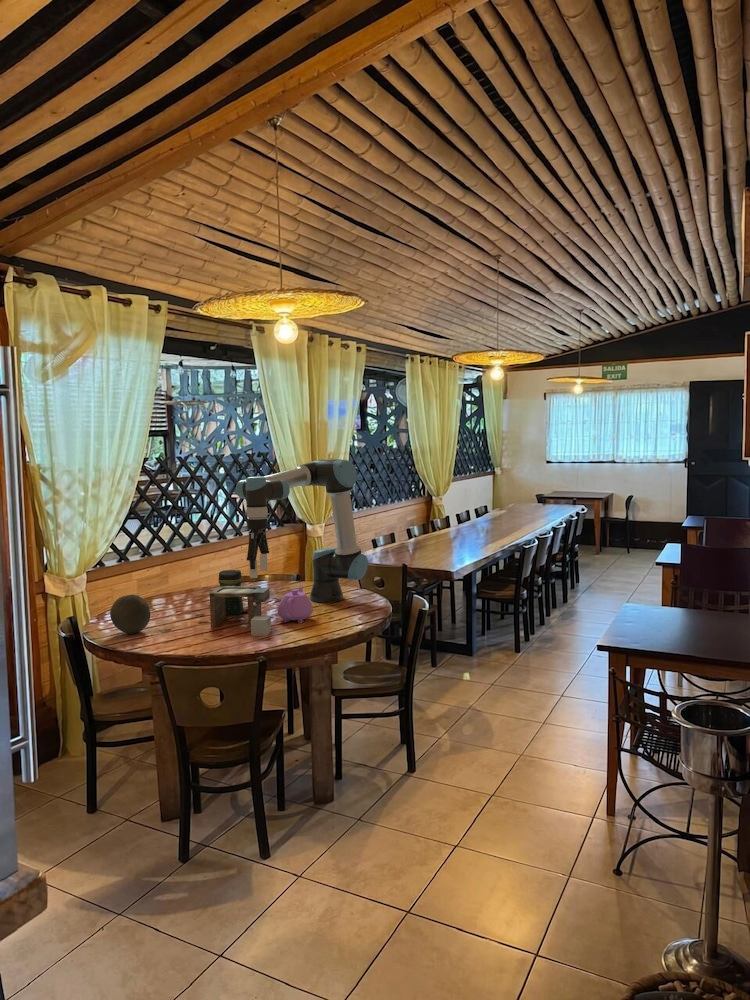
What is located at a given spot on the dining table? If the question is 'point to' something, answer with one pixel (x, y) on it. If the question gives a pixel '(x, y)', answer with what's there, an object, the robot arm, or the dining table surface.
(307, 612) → the pink rounded figure
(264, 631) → the grey cube
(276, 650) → the dining table surface
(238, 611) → the coffee jar
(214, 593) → the hatch frame
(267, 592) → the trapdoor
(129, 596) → the dark grey ball
